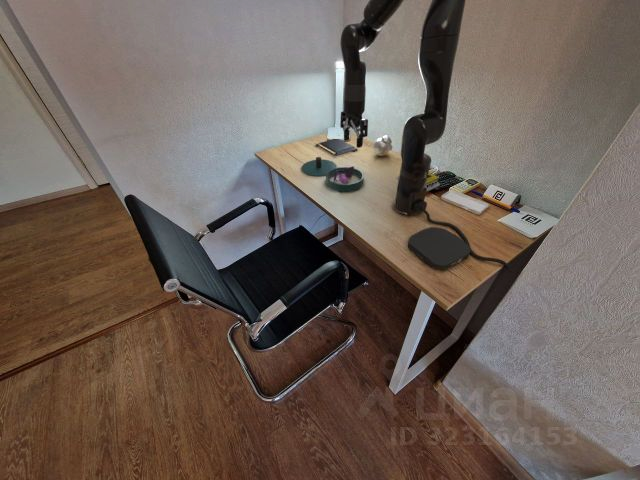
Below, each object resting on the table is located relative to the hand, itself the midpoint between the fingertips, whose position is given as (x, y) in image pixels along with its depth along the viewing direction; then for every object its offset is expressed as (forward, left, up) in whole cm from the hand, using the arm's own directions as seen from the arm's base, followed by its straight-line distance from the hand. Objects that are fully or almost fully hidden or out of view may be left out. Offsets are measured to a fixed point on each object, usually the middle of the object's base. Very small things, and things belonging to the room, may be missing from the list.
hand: (352, 143), depth 102 cm
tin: (+3, +2, -18) cm, 18 cm away
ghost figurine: (+16, -29, -18) cm, 38 cm away
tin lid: (+21, +5, -17) cm, 27 cm away
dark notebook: (+38, -15, -18) cm, 45 cm away
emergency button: (-14, -25, -18) cm, 34 cm away
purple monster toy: (+3, +2, -18) cm, 18 cm away
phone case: (-35, -27, -18) cm, 48 cm away
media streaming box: (-48, +1, -18) cm, 51 cm away
